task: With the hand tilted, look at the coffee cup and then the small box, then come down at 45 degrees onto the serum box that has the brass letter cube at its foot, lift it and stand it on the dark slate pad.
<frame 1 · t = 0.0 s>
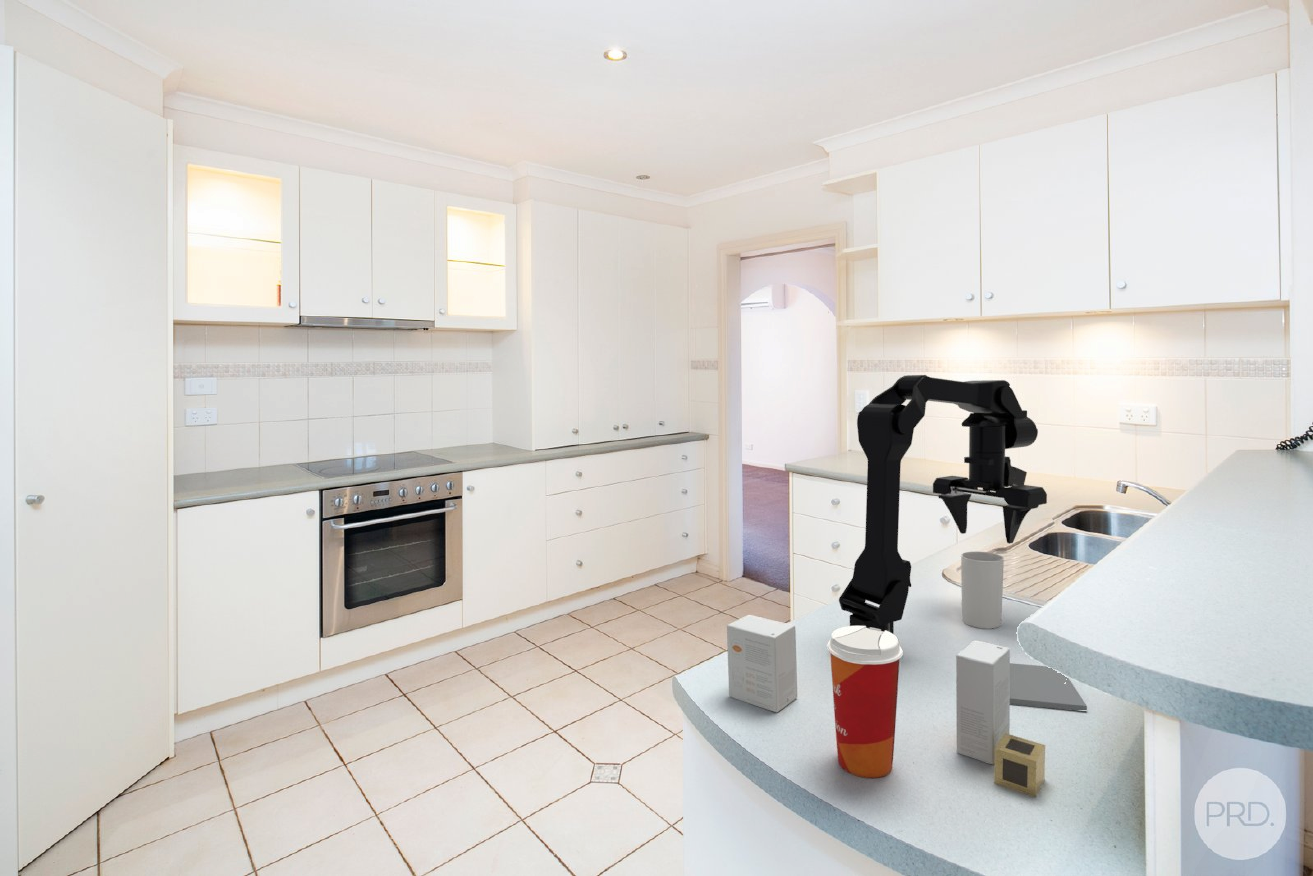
hand: (985, 538, 120), 15 cm above the counter, tool pointing down, fingers open, 9 cm apart
small box: (762, 699, 94), on the counter
mug: (980, 620, 121), on the counter
slate pad: (1024, 686, 95), on the counter
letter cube: (1019, 781, 73), on the counter
coffee cup: (864, 765, 77), on the counter
skincare box: (982, 750, 80), on the counter
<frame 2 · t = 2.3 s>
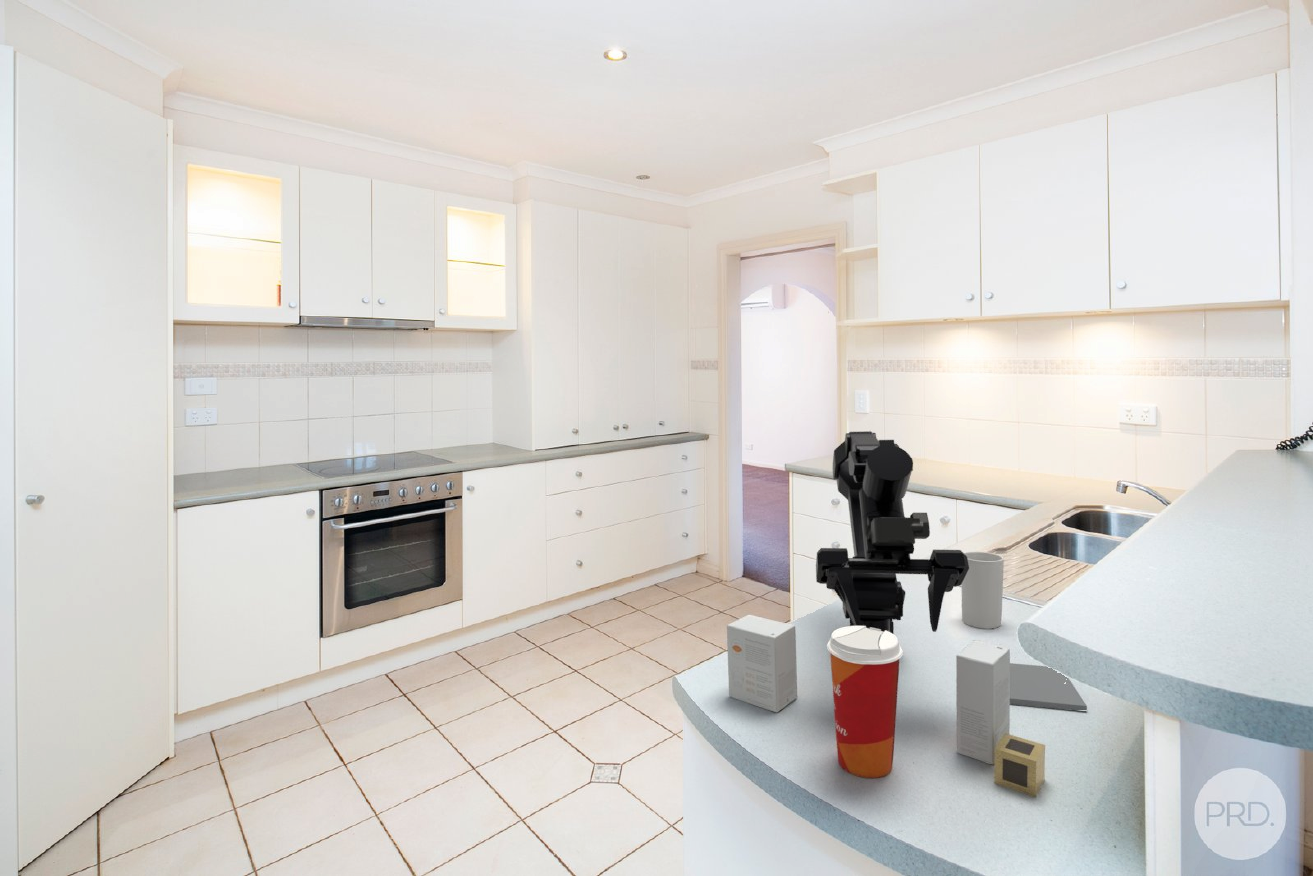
hand: (896, 629, 84), 13 cm above the counter, tool tilted 40°, fingers open, 9 cm apart
nothing on the counter moved.
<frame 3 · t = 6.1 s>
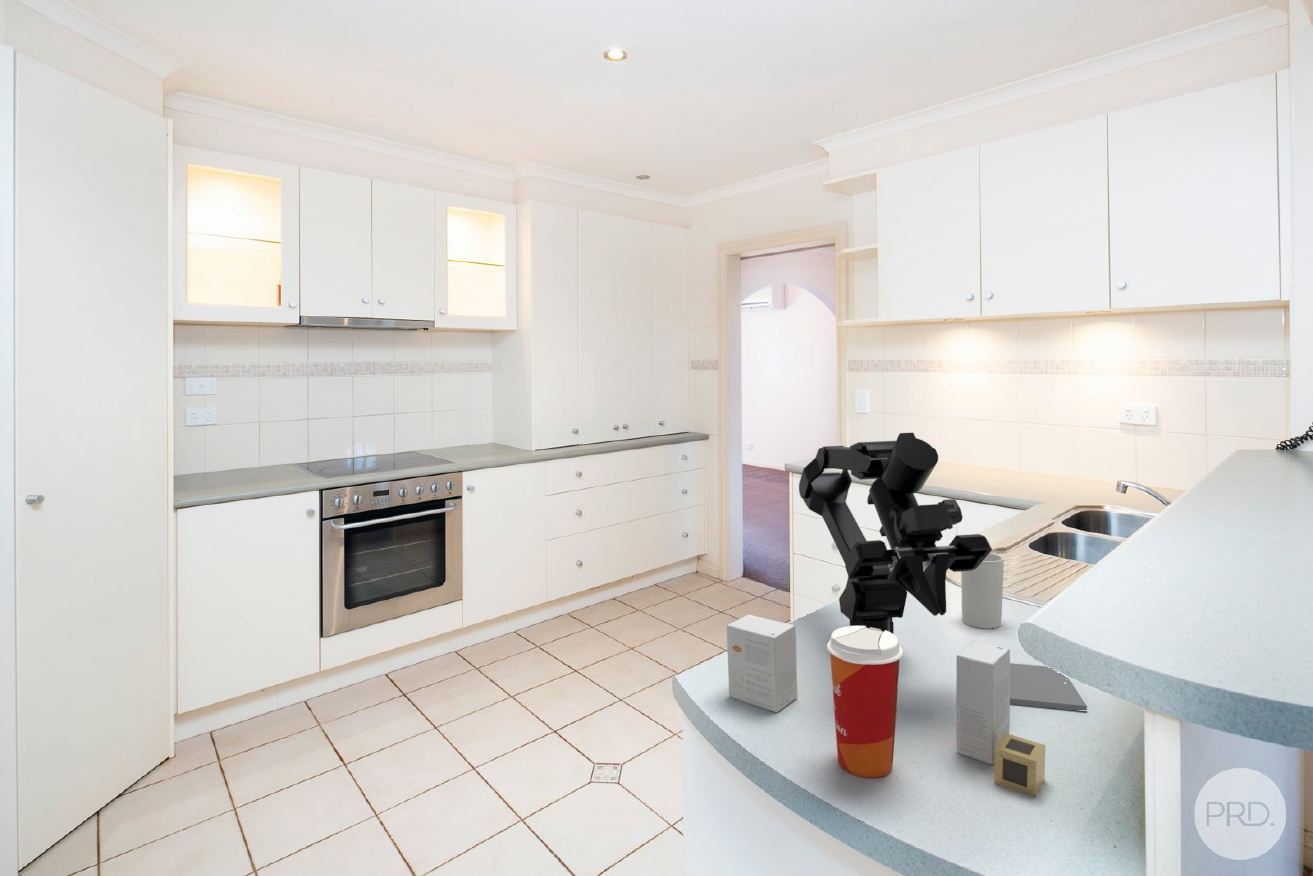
hand: (940, 614, 86), 14 cm above the counter, tool tilted 45°, fingers closed
nothing on the counter moved.
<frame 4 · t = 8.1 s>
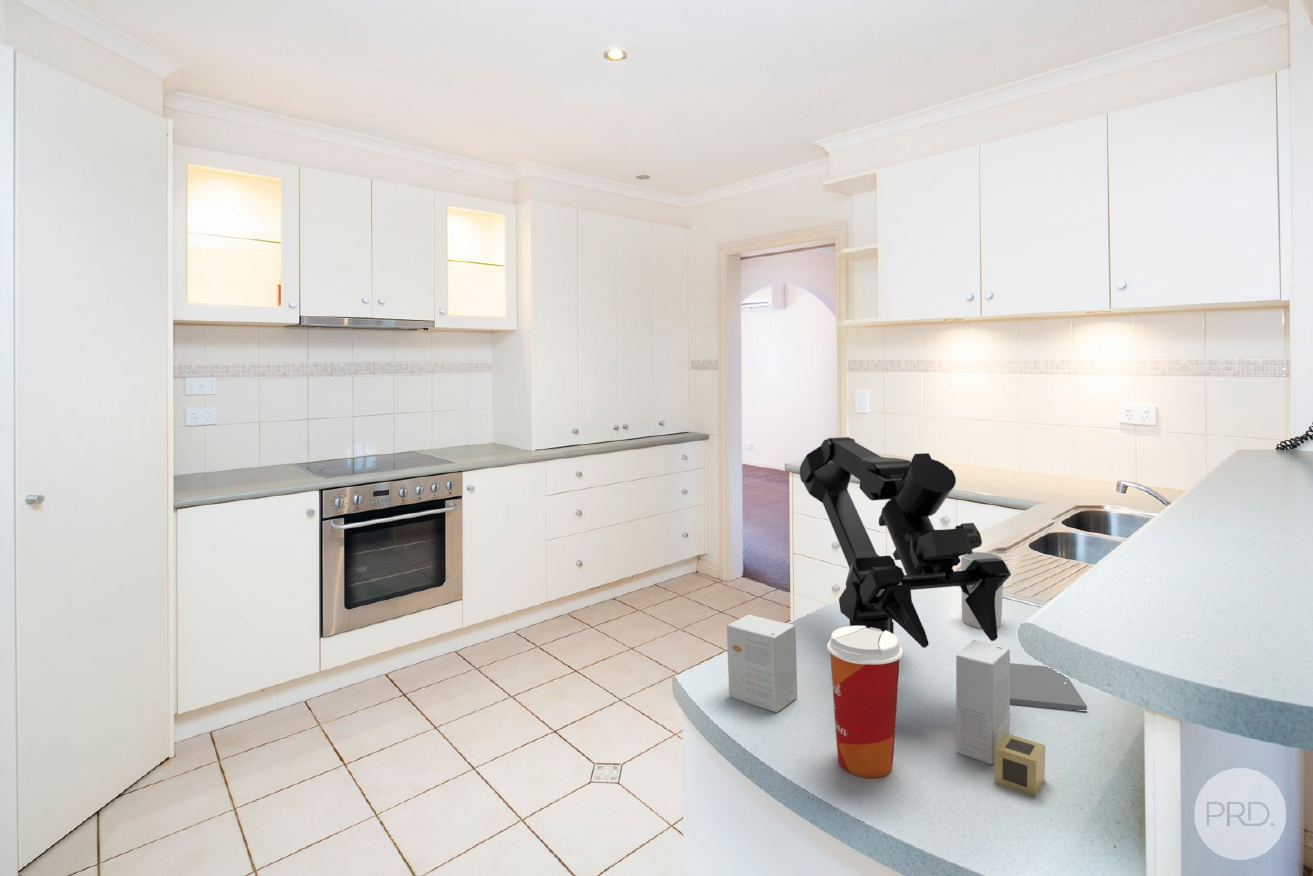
hand: (960, 643, 83), 11 cm above the counter, tool tilted 45°, fingers open, 9 cm apart
nothing on the counter moved.
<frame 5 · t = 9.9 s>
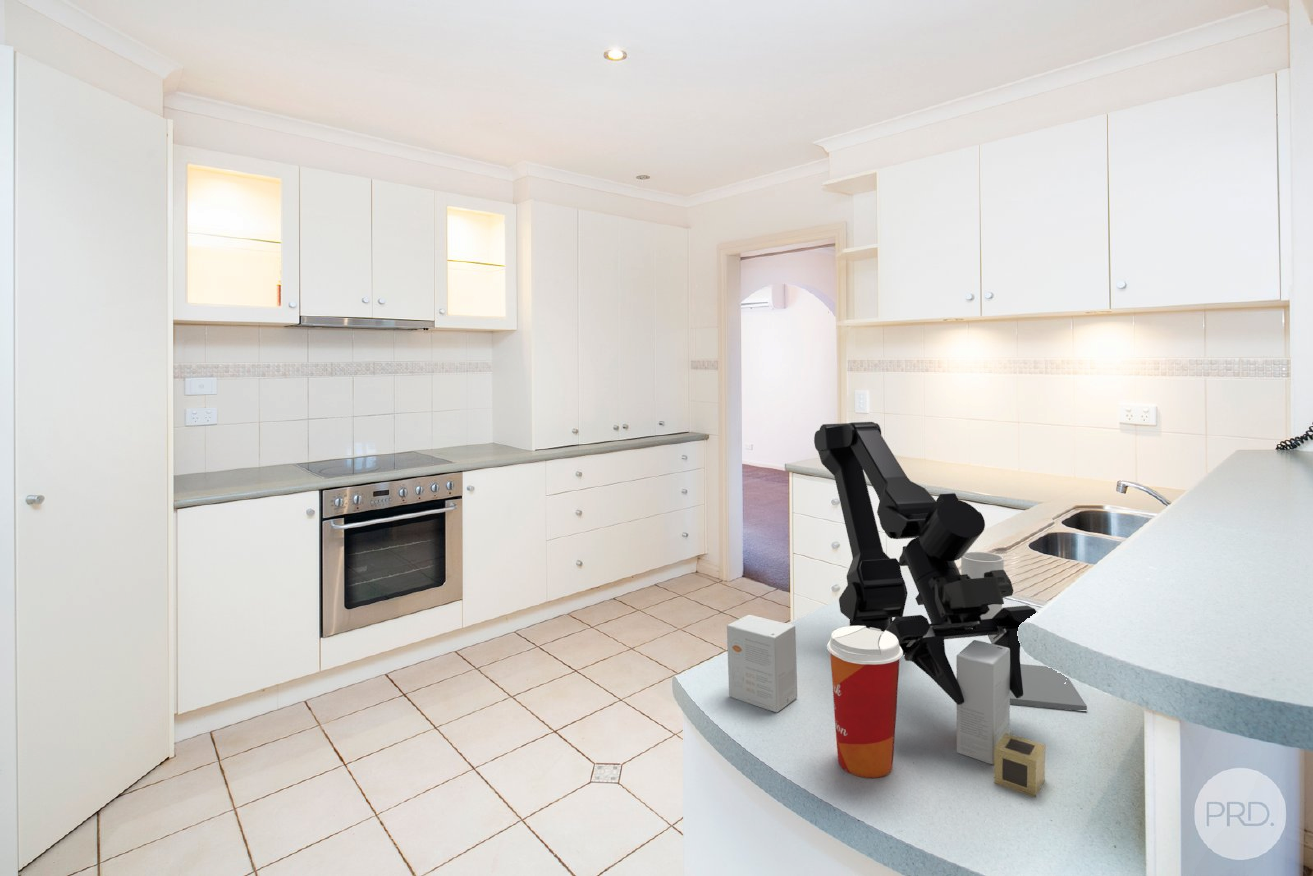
hand: (990, 700, 78), 7 cm above the counter, tool tilted 45°, fingers closed on skincare box, 7 cm apart
skincare box: (982, 750, 80), on the counter, touching gripper
everything else where it was.
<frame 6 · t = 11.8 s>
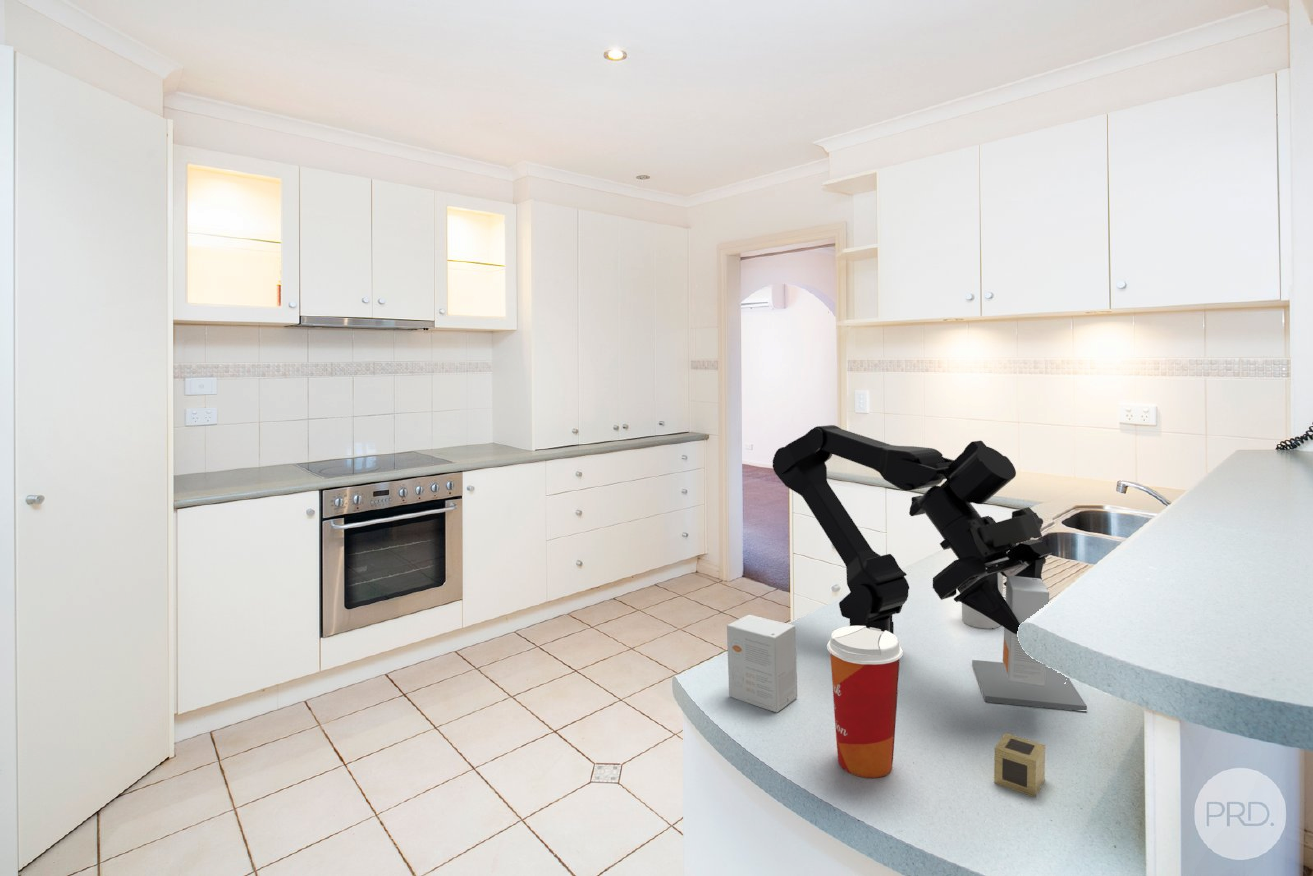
hand: (1036, 626, 85), 12 cm above the counter, tool tilted 45°, fingers closed on skincare box, 7 cm apart
skincare box: (1022, 675, 86), point 5 cm above the counter, touching gripper
everything else where it was.
when the fingers open (8 cm above the counter, at t = 13.9 s): skincare box stays where it is, resting on slate pad.
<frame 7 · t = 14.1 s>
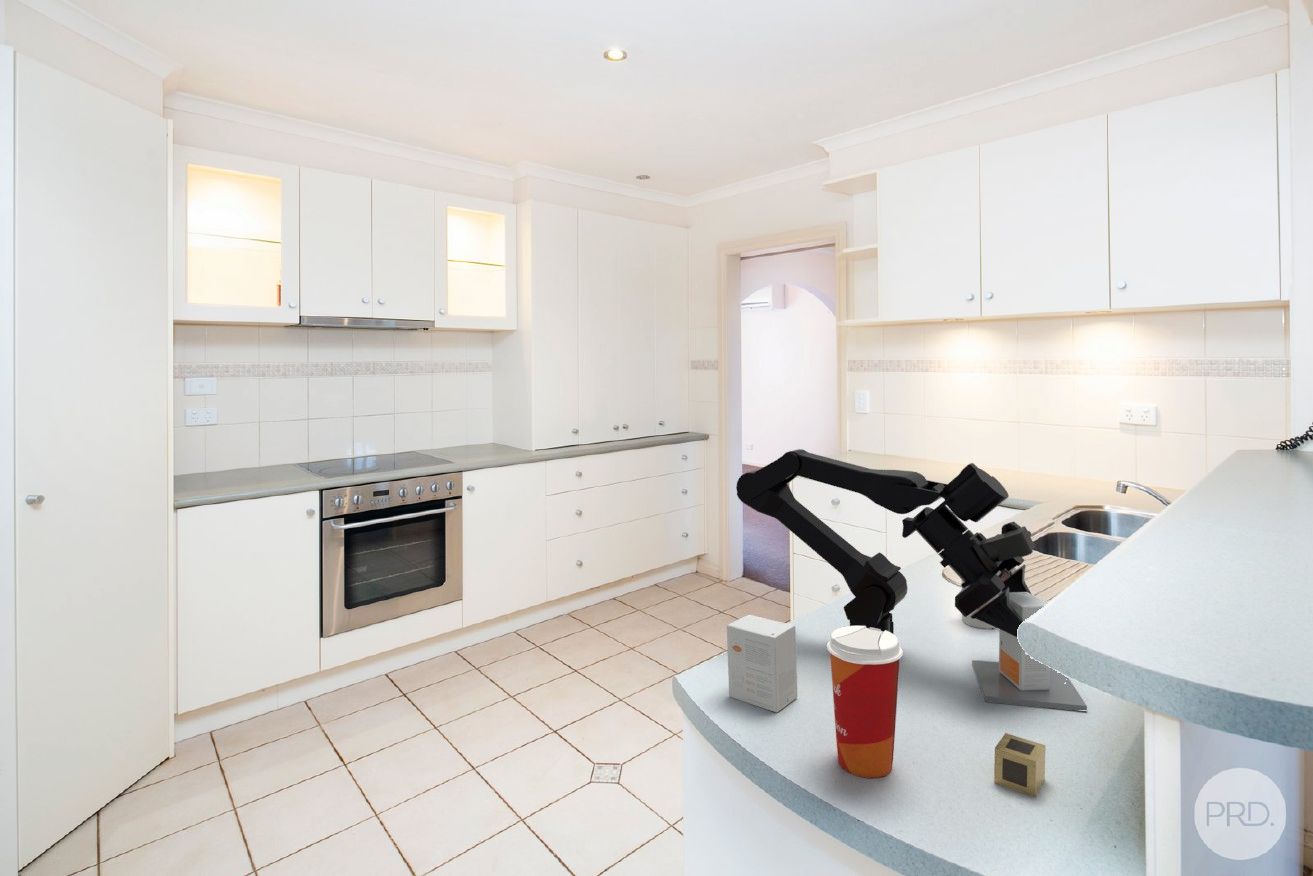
hand: (1037, 629, 93), 9 cm above the counter, tool tilted 45°, fingers open, 9 cm apart
skincare box: (1023, 682, 95), point 1 cm above the counter, touching slate pad
everything else where it was.
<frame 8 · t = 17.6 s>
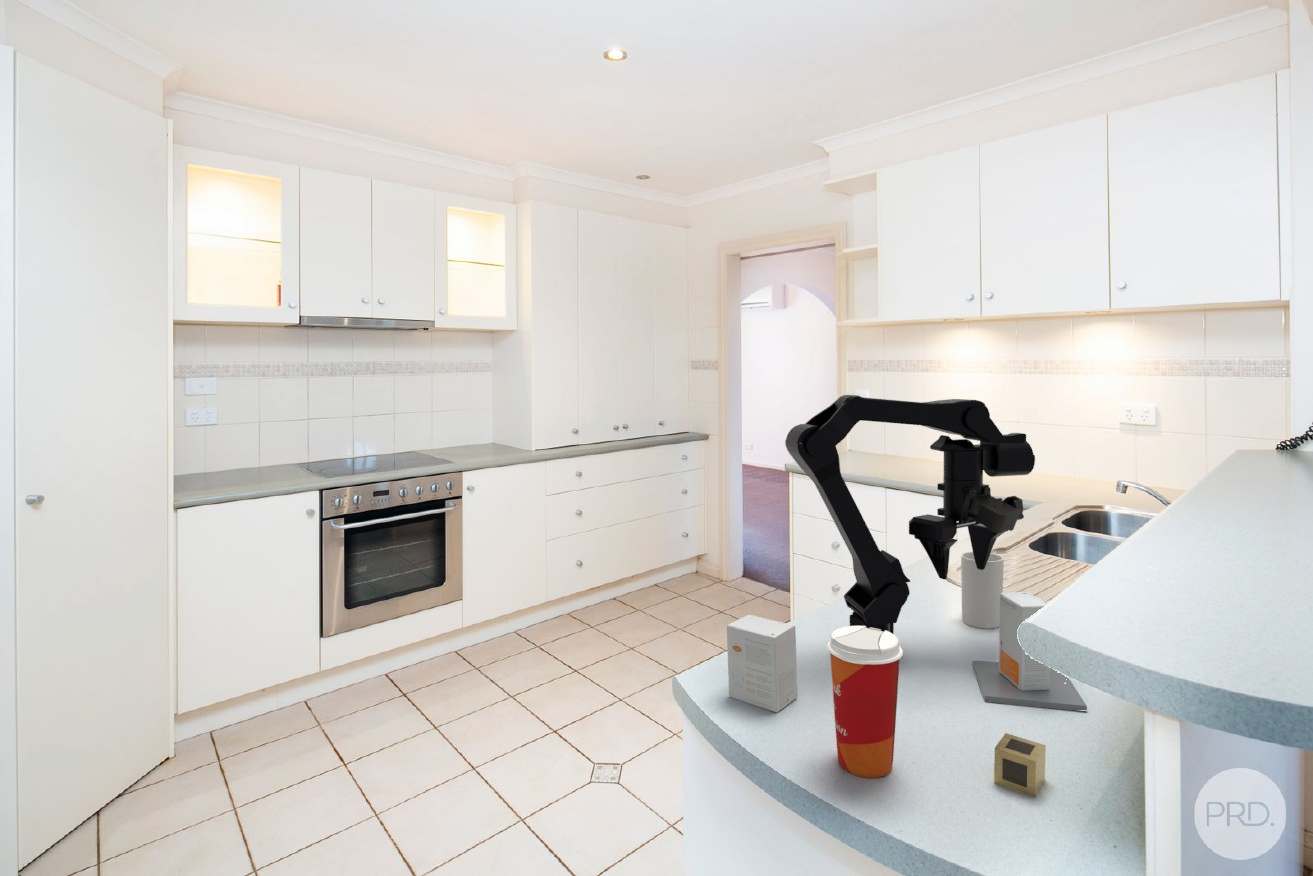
hand: (962, 574, 108), 12 cm above the counter, tool pointing down, fingers open, 9 cm apart
nothing on the counter moved.
at the end: skincare box 0.3 cm from the slate pad (horizontally); skincare box tilted 0°; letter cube moved 0.1 cm from its start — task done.
